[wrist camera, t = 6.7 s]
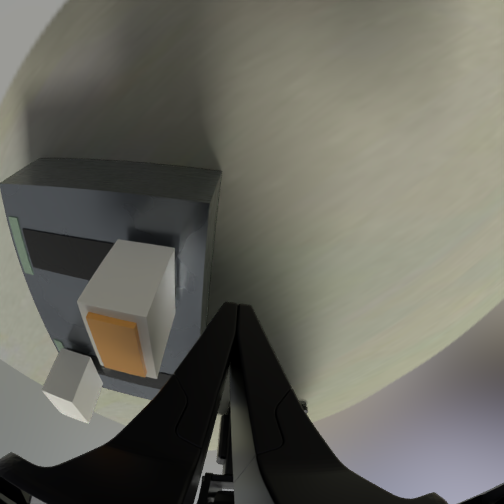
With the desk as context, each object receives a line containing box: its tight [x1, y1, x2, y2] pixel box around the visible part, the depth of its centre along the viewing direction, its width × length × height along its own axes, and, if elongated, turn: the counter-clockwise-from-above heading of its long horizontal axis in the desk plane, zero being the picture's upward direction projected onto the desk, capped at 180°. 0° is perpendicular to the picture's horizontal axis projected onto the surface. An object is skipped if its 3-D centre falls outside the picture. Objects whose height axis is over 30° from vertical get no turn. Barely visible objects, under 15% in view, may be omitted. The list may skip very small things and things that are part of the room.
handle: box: [42, 348, 103, 424], centre depth 13 cm, size 2×3×3 cm, turn 171°
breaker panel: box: [0, 158, 222, 400], centre depth 13 cm, size 9×14×3 cm, turn 171°
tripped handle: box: [77, 239, 175, 379], centre depth 8 cm, size 2×3×3 cm, turn 171°
